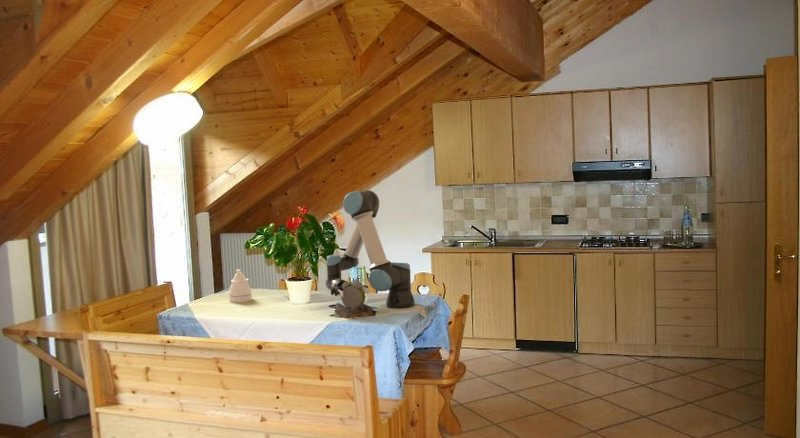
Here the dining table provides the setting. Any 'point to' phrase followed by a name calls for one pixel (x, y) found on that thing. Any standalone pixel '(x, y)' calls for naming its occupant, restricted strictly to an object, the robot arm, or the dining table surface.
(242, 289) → the honey pot
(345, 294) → the alarm clock
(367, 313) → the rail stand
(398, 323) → the dining table surface
